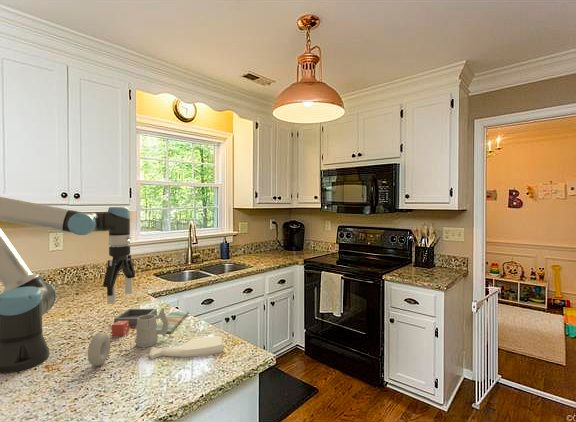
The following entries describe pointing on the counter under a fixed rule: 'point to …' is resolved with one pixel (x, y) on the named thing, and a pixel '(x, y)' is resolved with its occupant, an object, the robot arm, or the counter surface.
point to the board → (173, 320)
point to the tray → (134, 315)
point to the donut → (99, 349)
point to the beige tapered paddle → (191, 348)
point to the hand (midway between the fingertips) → (120, 298)
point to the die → (120, 328)
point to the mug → (150, 329)
